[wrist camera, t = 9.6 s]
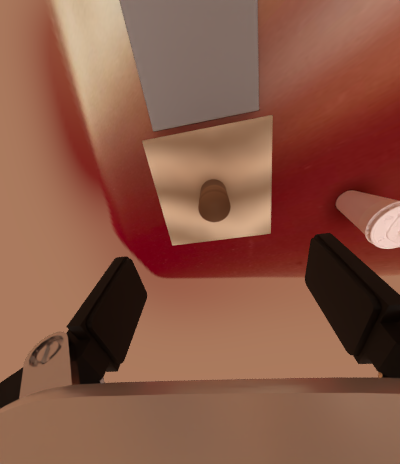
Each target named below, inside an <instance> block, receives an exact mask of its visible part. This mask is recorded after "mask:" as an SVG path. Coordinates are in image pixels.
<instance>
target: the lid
mask: <svg viewBox="0 0 400 464" xmlns="http://www.w3.org/2000/svg"><path fill="white" fill-rule="evenodd" d="M272 119H273V115H269V116H264V117H259V118H254V119H249V120H244V121H239V122H234V123H229V124H224V125H219V126H214V127H209V128H204V129H199V130H194V131H189V132H184V133H179V134H174V135H169V136H164V137H159V138H154V139H148V140H143V141H142V143H143V146H144V150H145V153H146V156H147V160H148V163H149V167H150V170H151V174H152V177H153V180H154V184H155V187H156V191H157V194H158V198H159V201H160V204H161V208H162V211H163V215H164V218H165V221H166V225H167V228H168V232H169V235H170V239H171V242H172V245H181V244H189V243H197V242H205V241H213V240H222V239H230V238H238V237H246V236H254V235H263V234H271V178H272Z"/></svg>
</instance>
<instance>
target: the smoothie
mask: <svg viewBox="0 0 400 464" xmlns="http://www.w3.org/2000/svg"><path fill="white" fill-rule="evenodd" d="M336 207H337V209H338V210H339V211H340V212H341V213H342V214H344V215H345V216H346V217H347V218H348V219H349V220H350V221H351V222H352V223H353V224H354V225H355V226H356V227H358V228H359V229H360V230H361V231H362V232H363V233H364V234H365V236H366V238H367V240H368V241H369V242H370V243H372V244H374V245H375V246H377V247H379V248H384V249H391V248H397V247H400V201H398V200H394V199H389V198H385V197H380V196H376V195H371V194H367V193H363V192H358V191H354V190H350V191H346V192H344V193H343V194H341V195H340V196H339V197H338V199H337V201H336Z"/></svg>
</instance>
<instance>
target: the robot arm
mask: <svg viewBox="0 0 400 464" xmlns="http://www.w3.org/2000/svg"><path fill="white" fill-rule="evenodd" d="M305 282H306V285H307V287H308V289H309V290H310V292H311V293H312V295H313V297H314V298H315V300H316V302H317V303H318V305H319V307H320V308H321V310H322V312H323V313H324V315H325V316H326V318H327V320H328V321H329V323H330V325H331V326H332V328H333V330H334V331H335V333H336V335H337V336H338V338H339V340H340V341H341V343H342V345H343V346H344V348H345V350H346V351H347V352H348V353H349V354H350V355H353V356H354V357H355V359H356V361H357V362H358V364H373V365H374V367H375V368H376V369H377V371H378V378H290V379H289V378H287V379H237V380H196V381H195V380H194V381H155V382H121V383H105V382H104V378H103V376H104V374H105V372H111V371H112V372H113V371H118V369H119V366H120V364H121V363H123V361H124V359H125V357H126V354H127V351H128V349H129V346H130V343H131V340H132V338H133V335H134V332H135V329H136V327H137V324H138V321H139V318H140V316H141V313H142V310H143V307H144V305H145V302H146V299H147V292H146V290H145V288H144V285H143V283H142V281H141V279H140V277H139V274H138V272H137V270H136V268H135V266H134V263H133V261H132V260H131V259H129V258H128V257H118V258H115V259H114V261H113V262H112V264H111V265H110V266H109V268H108V269H107V271H106V272H105V274H104V275H103V276H102V278H101V279H100V281H99V282H98V283H97V285H96V286H95V288H94V289H93V290H92V292H91V293H90V295H89V296H88V297H87V299H86V300H85V302H84V303H83V304H82V306H81V307H80V309H79V310H78V311H77V313H76V314H75V316H74V317H73V319H72V320H71V321H70V323H69V324H68V325H67V327H68V329H69V330H68V332H67V333H64V332H56V333H53V334H51V335H49V336H47V337H46V338H44V339H43V340H41V341H40V342H39V343H38V344H37V345H36V346H35V347H34V348H33V349H32V350H31V351H30V353H29V354H28V356H27V357H26V359H25V362H24V367H23V368H21V369H20V370H19V371H17V372H16V373H14V374H13V375H11V376H10V377H8V378H7V379H5V380H4V381H2V382H1V383H0V464H400V295H399V294H398V293H397V292H396V291H394V289H392V288H391V287H390V286H389V285H388V284H387V283H386V282H385V281H383V280H382V279H381V278H380V277H379V276H378V275H377V274H376V273H375V272H373V271H372V270H371V269H370V268H369V267H368V266H367V265H366V264H364V263H363V262H362V261H361V260H360V259H359V258H358V257H357V256H355V255H354V254H353V253H352V252H351V251H350V250H349V249H348V248H347V247H345V246H344V245H343V244H342V243H341V242H340V241H339V240H338V239H336V238H335V237H334V236H333V235H332V234H330V233H325V234H317V235H315V237H314V238H312V239H311V242H310V249H309V255H308V262H307V268H306V274H305Z"/></svg>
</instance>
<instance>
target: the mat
mask: <svg viewBox="0 0 400 464" xmlns="http://www.w3.org/2000/svg"><path fill="white" fill-rule="evenodd" d="M119 1H120V5H121V8H122V12H123V16H124V20H125V24H126V28H127V32H128V35H129V39H130V43H131V47H132V51H133V55H134V59H135V62H136V66H137V70H138V74H139V78H140V82H141V86H142V89H143V93H144V97H145V101H146V105H147V109H148V113H149V117H150V120H151V124H152V128H153V132H154V131H159V130H164V129H169V128H174V127H179V126H184V125H189V124H194V123H199V122H204V121H208V120H213V119H218V118H223V117H228V116H233V115H238V114H243V113H248V112H253V111H258V110H259V72H258V0H119Z"/></svg>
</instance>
